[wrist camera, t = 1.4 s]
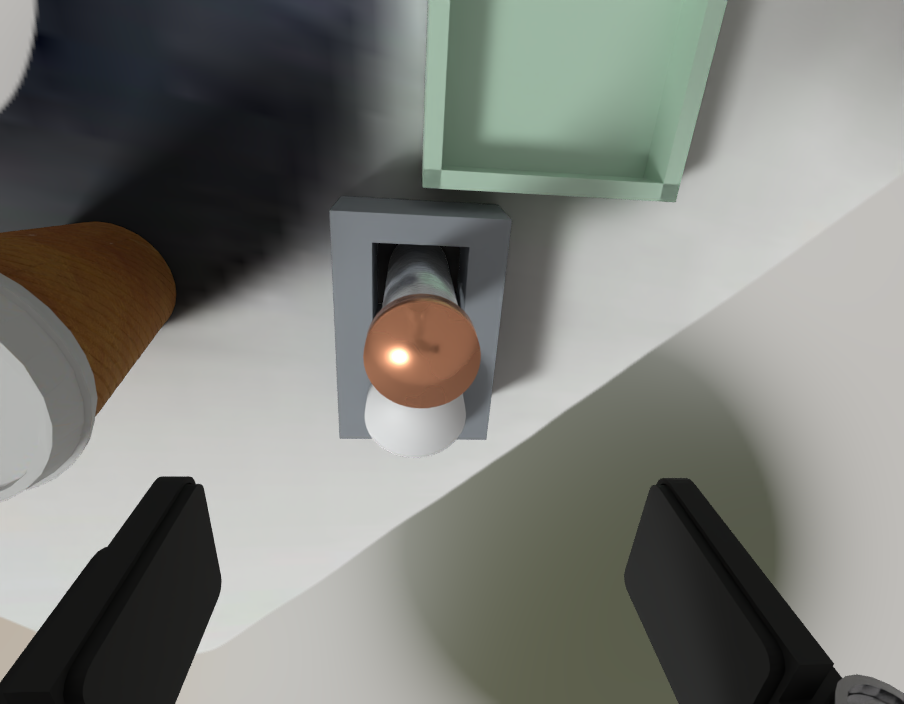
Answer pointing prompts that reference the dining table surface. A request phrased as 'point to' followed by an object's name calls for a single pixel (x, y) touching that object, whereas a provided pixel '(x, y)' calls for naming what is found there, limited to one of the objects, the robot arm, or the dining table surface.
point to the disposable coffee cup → (69, 338)
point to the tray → (565, 94)
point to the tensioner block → (357, 304)
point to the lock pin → (421, 333)
